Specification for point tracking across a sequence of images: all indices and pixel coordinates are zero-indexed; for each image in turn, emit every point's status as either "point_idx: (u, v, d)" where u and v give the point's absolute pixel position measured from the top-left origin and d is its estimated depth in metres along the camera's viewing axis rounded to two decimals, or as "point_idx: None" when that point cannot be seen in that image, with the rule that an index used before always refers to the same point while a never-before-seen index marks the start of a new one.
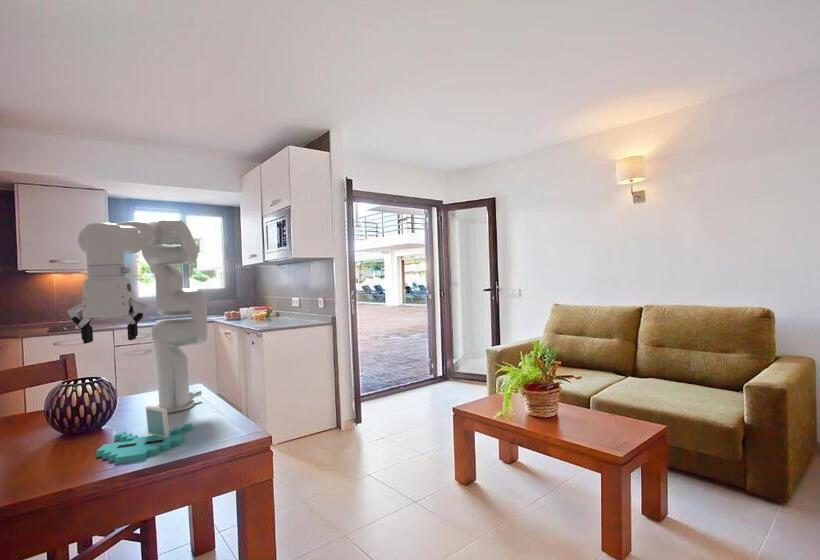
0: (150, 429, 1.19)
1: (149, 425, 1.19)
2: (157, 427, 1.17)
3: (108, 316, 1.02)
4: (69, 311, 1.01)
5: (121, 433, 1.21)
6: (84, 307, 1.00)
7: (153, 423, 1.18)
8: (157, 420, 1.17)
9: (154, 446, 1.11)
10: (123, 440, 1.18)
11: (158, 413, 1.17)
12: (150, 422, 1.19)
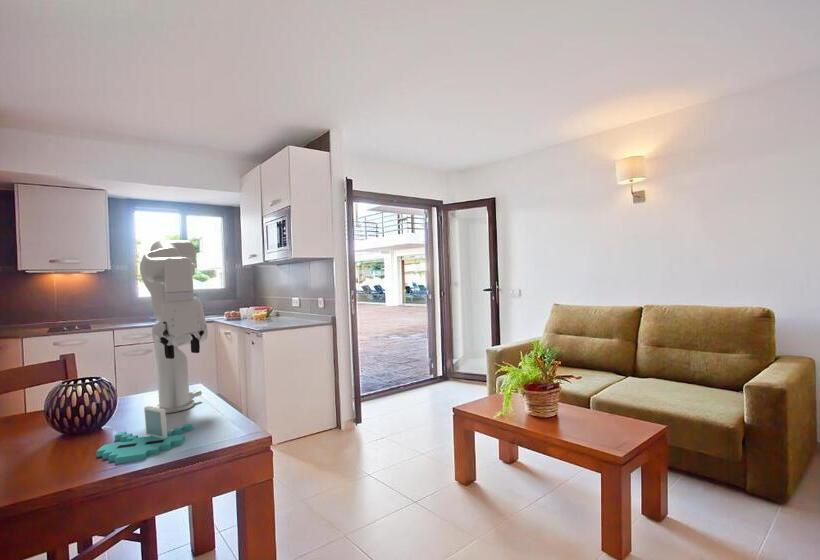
0: (148, 430, 1.19)
1: (147, 426, 1.19)
2: (155, 428, 1.17)
3: (188, 332, 1.26)
4: (157, 334, 1.19)
5: (121, 433, 1.21)
6: (172, 326, 1.21)
7: (151, 423, 1.18)
8: (155, 421, 1.17)
9: (154, 446, 1.11)
10: (123, 440, 1.19)
11: (156, 414, 1.17)
12: (149, 422, 1.18)
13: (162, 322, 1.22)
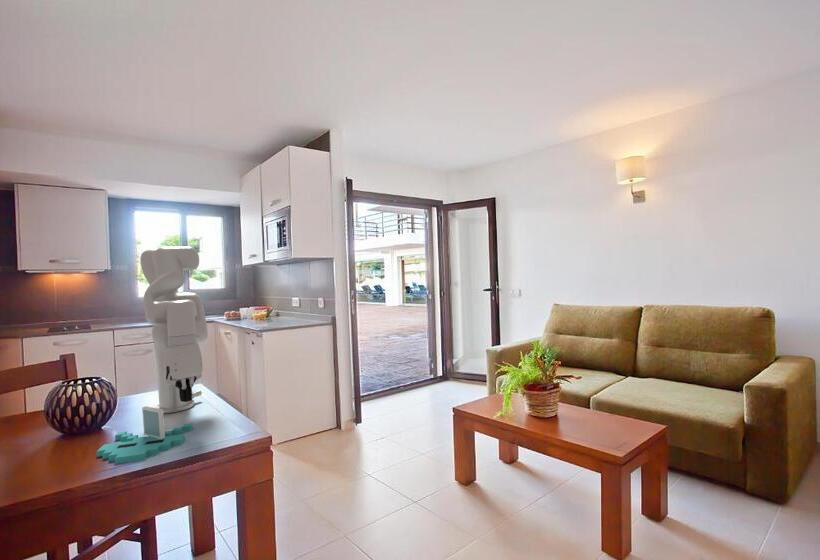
0: (146, 430, 1.18)
1: (145, 426, 1.19)
2: (153, 428, 1.17)
3: (191, 376, 1.26)
4: (170, 383, 1.21)
5: (122, 433, 1.21)
6: (175, 371, 1.21)
7: (149, 424, 1.18)
8: (153, 421, 1.17)
9: (154, 446, 1.11)
10: (124, 440, 1.19)
11: (154, 414, 1.16)
12: (146, 423, 1.18)
13: (165, 366, 1.22)
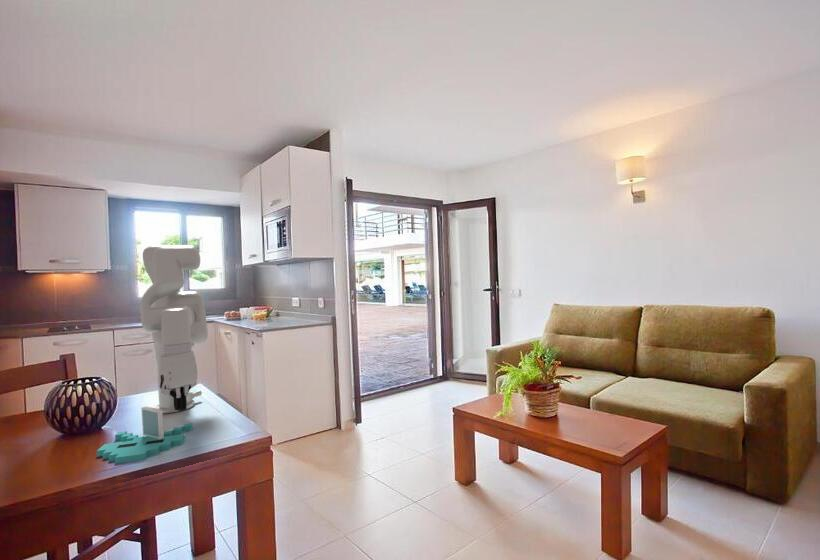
0: (145, 430, 1.18)
1: (144, 426, 1.18)
2: (152, 428, 1.17)
3: (185, 384, 1.24)
4: (165, 392, 1.20)
5: (122, 433, 1.21)
6: (169, 380, 1.20)
7: (148, 424, 1.18)
8: (152, 421, 1.17)
9: (154, 446, 1.11)
10: (124, 440, 1.19)
11: (153, 414, 1.16)
12: (145, 423, 1.18)
13: (159, 375, 1.20)
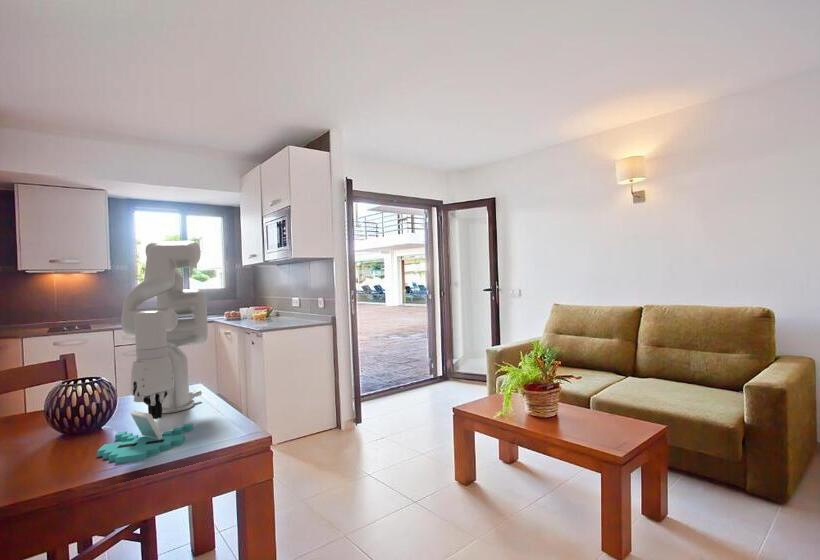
0: (142, 432, 1.18)
1: (140, 428, 1.17)
2: (148, 430, 1.16)
3: (160, 391, 1.17)
4: (138, 400, 1.13)
5: (122, 433, 1.21)
6: (142, 387, 1.13)
7: (142, 427, 1.16)
8: (145, 425, 1.15)
9: (154, 446, 1.11)
10: (124, 440, 1.19)
11: (144, 419, 1.14)
12: (140, 426, 1.17)
13: (132, 382, 1.14)
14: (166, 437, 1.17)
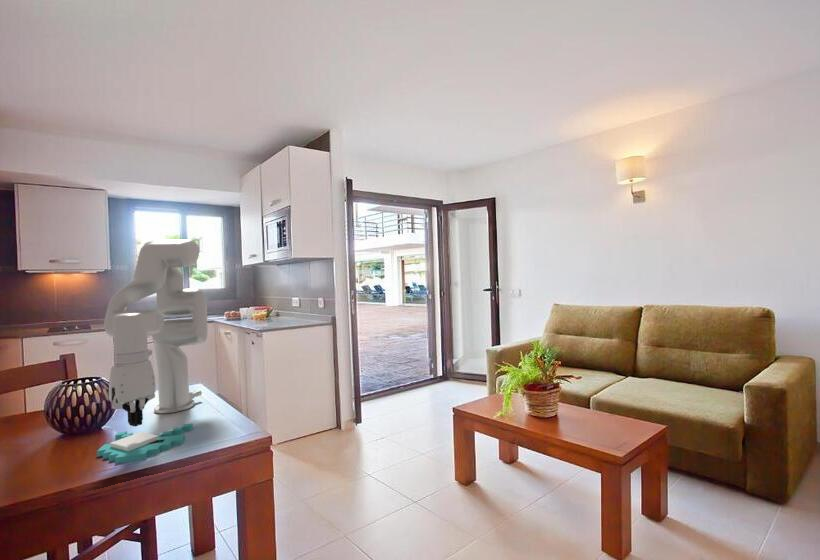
0: None
1: None
2: None
3: (141, 397, 1.13)
4: (116, 407, 1.08)
5: (122, 433, 1.21)
6: (121, 393, 1.08)
7: None
8: None
9: (154, 446, 1.11)
10: None
11: None
12: None
13: (110, 388, 1.09)
14: (166, 437, 1.17)
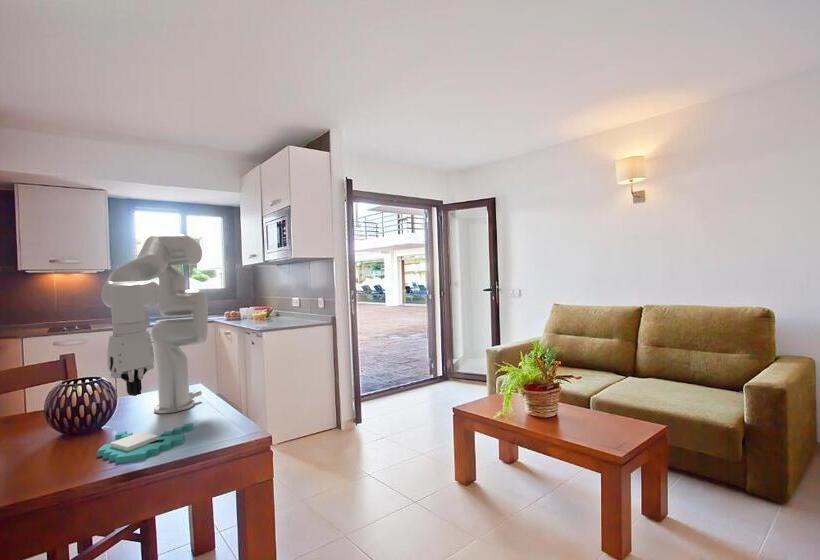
0: None
1: None
2: None
3: (139, 367, 1.13)
4: (114, 376, 1.09)
5: (122, 433, 1.21)
6: (119, 362, 1.08)
7: None
8: None
9: (155, 445, 1.11)
10: None
11: None
12: None
13: (109, 357, 1.09)
14: (166, 437, 1.17)
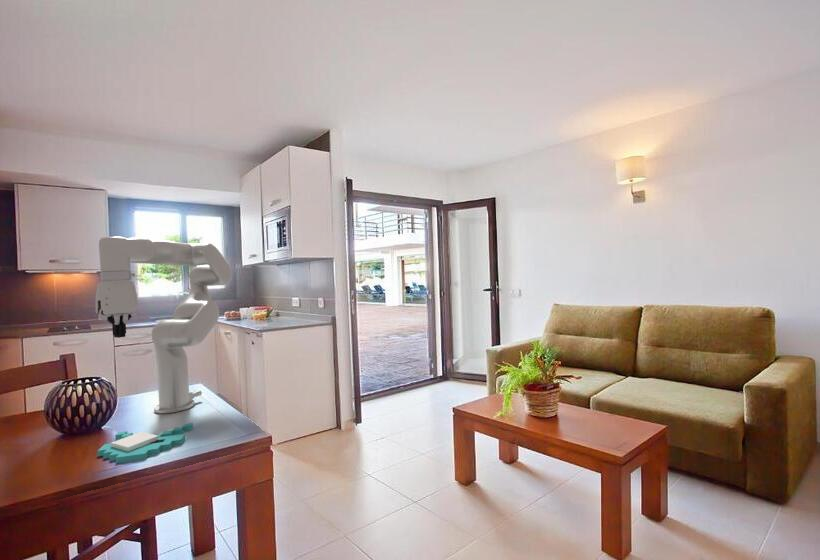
0: None
1: None
2: None
3: (124, 312, 1.26)
4: (101, 317, 1.22)
5: (122, 433, 1.21)
6: (106, 305, 1.22)
7: None
8: None
9: (155, 445, 1.11)
10: None
11: None
12: None
13: (97, 301, 1.23)
14: (166, 437, 1.17)
